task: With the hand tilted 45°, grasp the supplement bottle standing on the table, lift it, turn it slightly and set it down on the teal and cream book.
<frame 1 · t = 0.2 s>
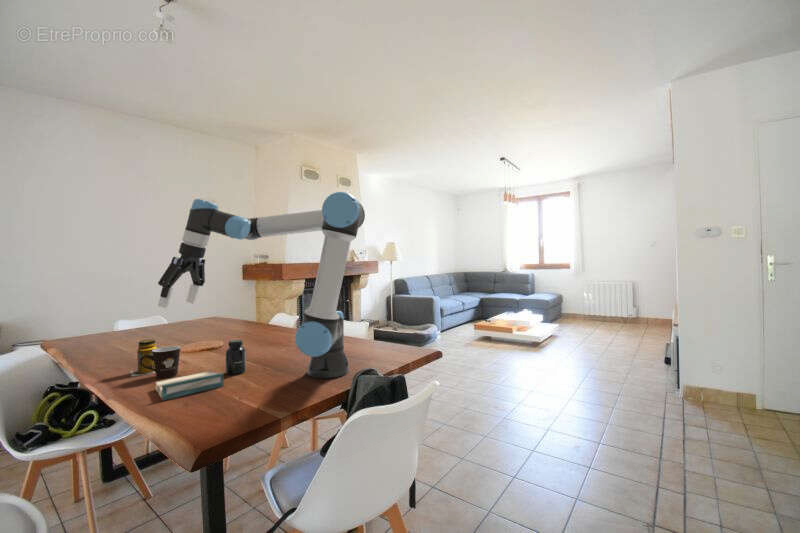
hand: (177, 304, 118), 27 cm above the table, tool tilted 15°, fingers open, 13 cm apart
condiment: (144, 372, 133), on the table
coffee mug: (162, 376, 128), on the table
supplement bottle: (235, 373, 131), on the table
teal and cream book: (189, 387, 116), on the table
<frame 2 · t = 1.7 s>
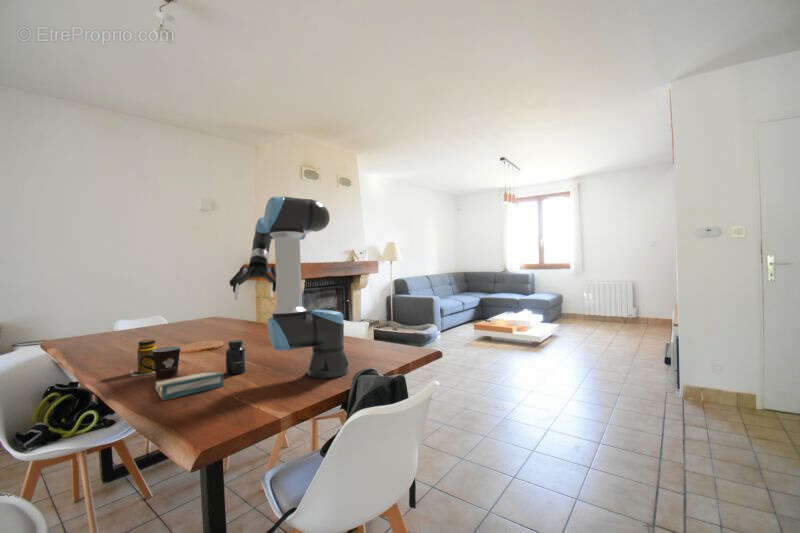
hand: (253, 297, 143), 27 cm above the table, tool tilted 45°, fingers open, 13 cm apart
nothing on the table moved.
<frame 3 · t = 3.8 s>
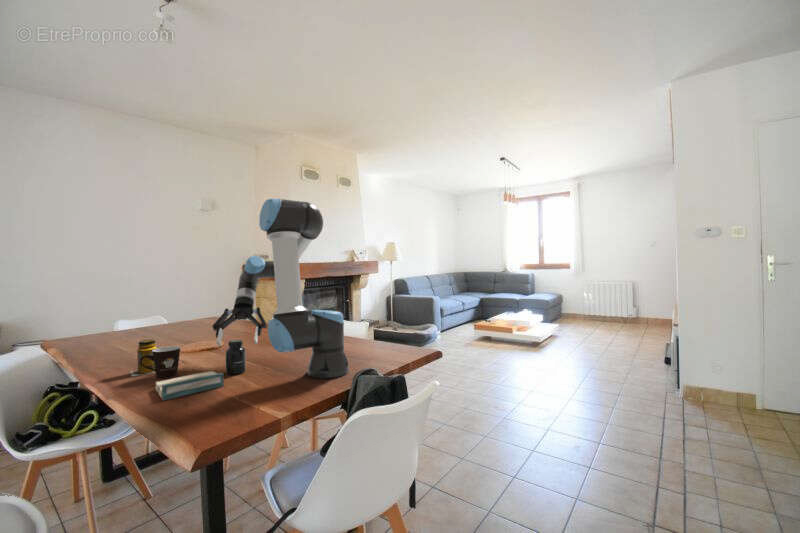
hand: (237, 343, 136), 10 cm above the table, tool tilted 45°, fingers open, 13 cm apart
nothing on the table moved.
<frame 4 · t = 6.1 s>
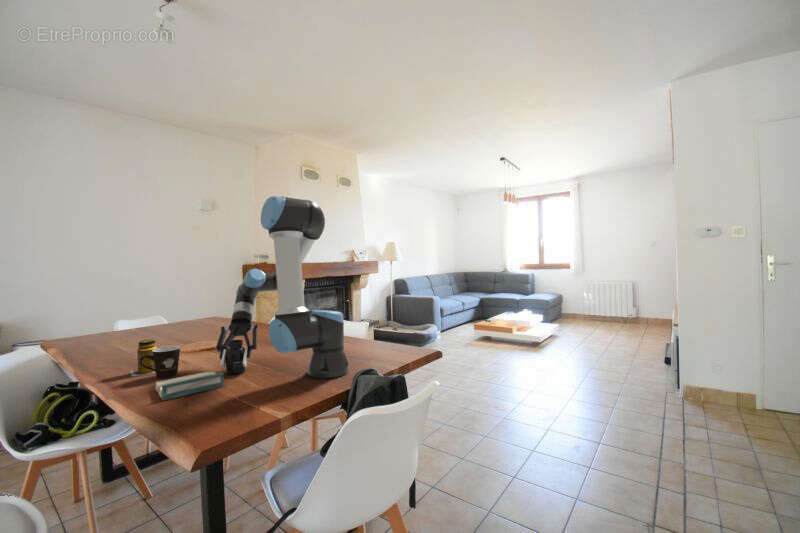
hand: (233, 365, 128), 3 cm above the table, tool tilted 45°, fingers closed on supplement bottle, 7 cm apart
supplement bottle: (235, 373, 131), on the table, touching gripper
everything else where it was.
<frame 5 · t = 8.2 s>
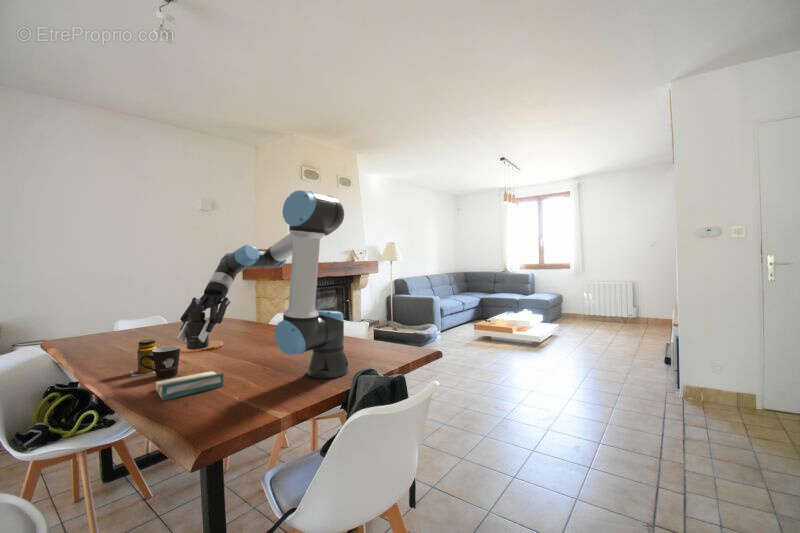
hand: (190, 339, 116), 16 cm above the table, tool tilted 45°, fingers closed on supplement bottle, 7 cm apart
supplement bottle: (198, 347, 120), point 12 cm above the table, touching gripper
everything else where it was.
when the fingers open (8 cm above the table, at t = 10.5 s): supplement bottle drops 2 cm, resting on teal and cream book.
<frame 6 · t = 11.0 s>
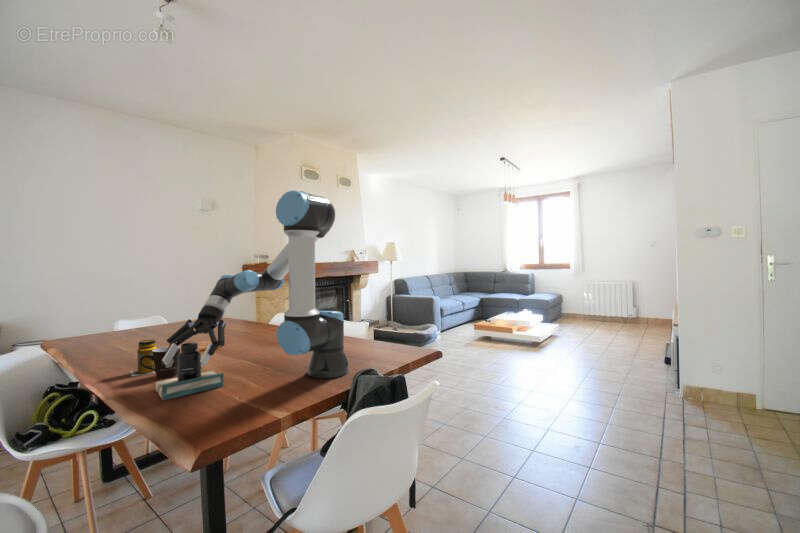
hand: (183, 363, 113), 9 cm above the table, tool tilted 45°, fingers open, 13 cm apart
supplement bottle: (189, 380, 116), point 2 cm above the table, touching teal and cream book
everything else where it was.
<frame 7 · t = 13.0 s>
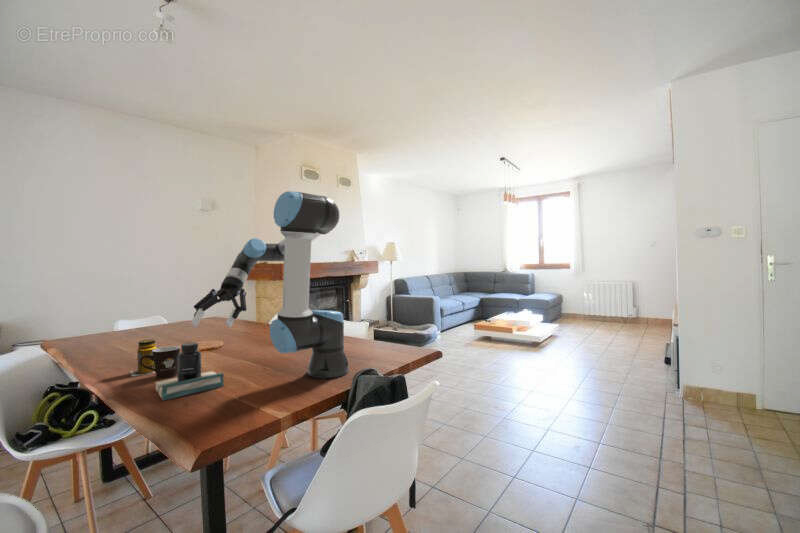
hand: (210, 325, 126), 19 cm above the table, tool tilted 45°, fingers open, 13 cm apart
nothing on the table moved.
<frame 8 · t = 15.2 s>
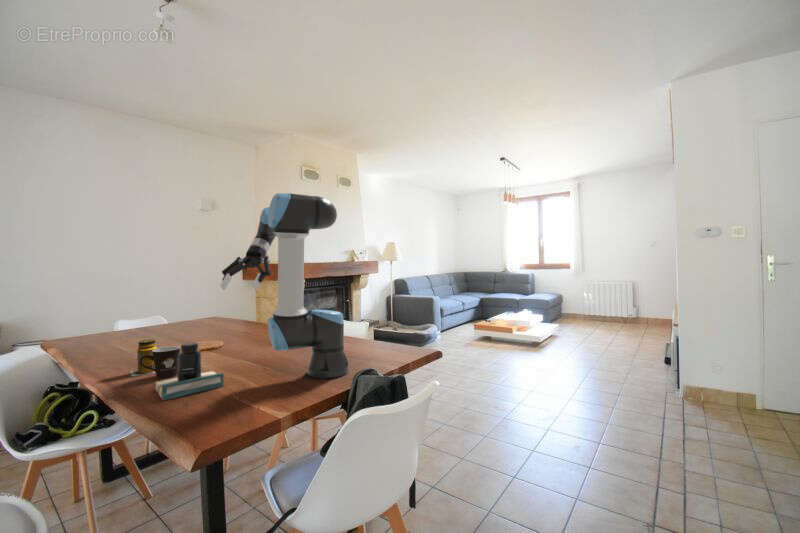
hand: (238, 287, 137), 32 cm above the table, tool tilted 45°, fingers open, 13 cm apart
nothing on the table moved.
at the end: supplement bottle inside the target area on the teal and cream book (0.2 cm from its centre), point 2.3 cm above the teal and cream book's base; supplement bottle tilted 0°; the gripper is holding nothing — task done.
